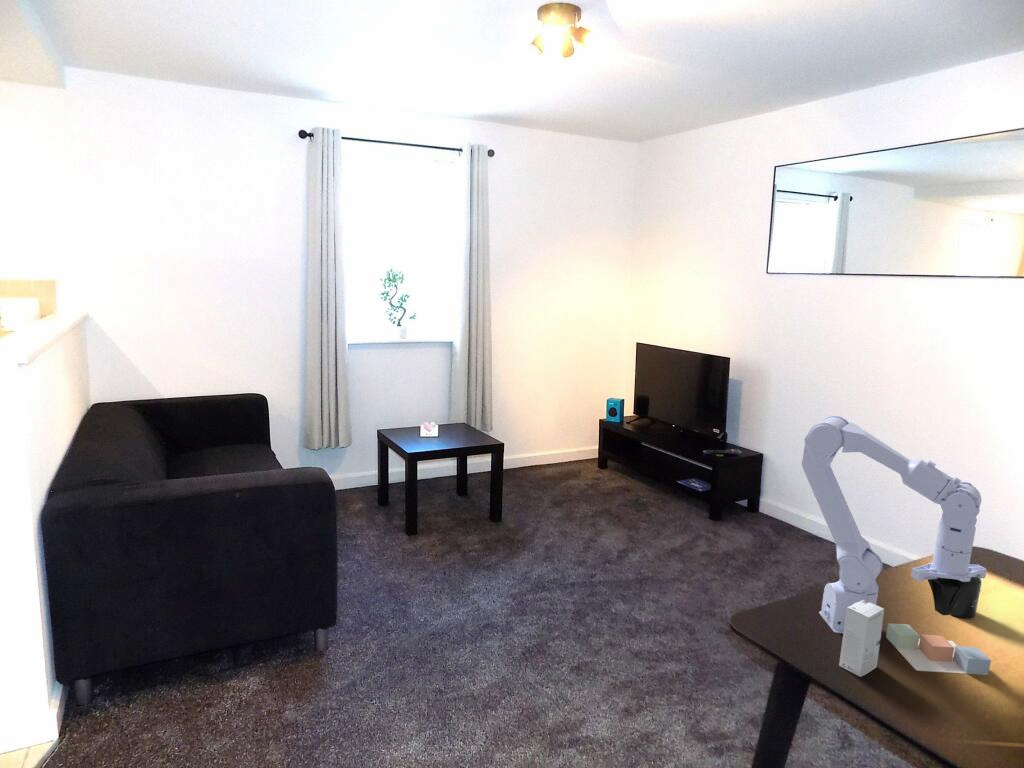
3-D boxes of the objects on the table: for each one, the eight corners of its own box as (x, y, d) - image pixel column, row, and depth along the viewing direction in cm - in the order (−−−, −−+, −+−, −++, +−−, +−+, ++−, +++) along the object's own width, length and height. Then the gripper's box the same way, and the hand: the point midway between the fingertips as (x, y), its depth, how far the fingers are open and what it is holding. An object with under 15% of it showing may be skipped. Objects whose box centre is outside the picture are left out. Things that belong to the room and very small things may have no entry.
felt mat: (916, 672, 122) (916, 670, 122) (885, 638, 133) (886, 636, 133) (987, 676, 122) (988, 674, 121) (951, 642, 132) (951, 640, 132)
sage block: (896, 648, 129) (898, 634, 128) (886, 636, 133) (888, 623, 132) (917, 649, 129) (919, 635, 128) (906, 637, 133) (908, 624, 132)
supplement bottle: (981, 622, 140) (991, 570, 138) (945, 618, 142) (955, 566, 139) (966, 606, 147) (975, 556, 145) (932, 602, 148) (941, 552, 146)
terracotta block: (930, 660, 125) (932, 646, 125) (918, 648, 129) (920, 634, 129) (951, 661, 125) (954, 647, 124) (939, 649, 129) (941, 635, 128)
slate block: (966, 673, 122) (968, 658, 121) (952, 660, 126) (955, 646, 125) (988, 674, 121) (991, 659, 121) (974, 661, 125) (976, 647, 125)
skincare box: (860, 679, 119) (870, 618, 117) (837, 666, 123) (845, 607, 121) (877, 668, 123) (887, 608, 121) (854, 656, 126) (862, 598, 124)
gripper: (936, 557, 119) (924, 626, 122) (1005, 554, 122) (992, 621, 124) (907, 541, 126) (896, 606, 129) (973, 538, 128) (961, 602, 131)
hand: (941, 612), depth 127 cm, fingers closed
